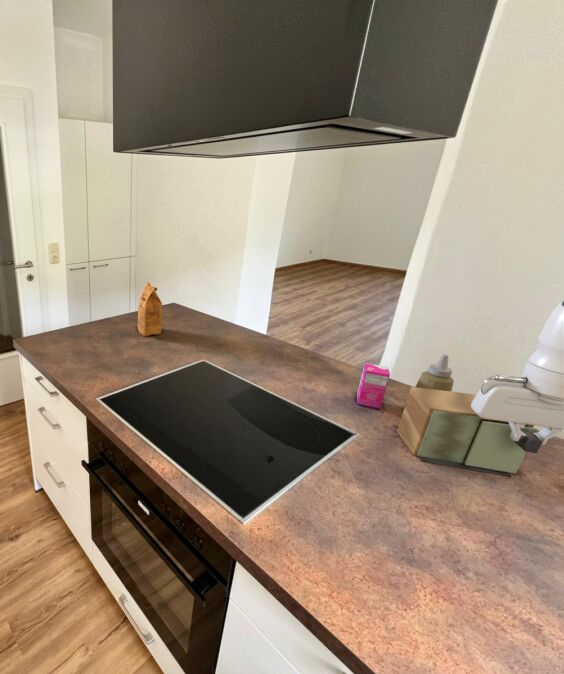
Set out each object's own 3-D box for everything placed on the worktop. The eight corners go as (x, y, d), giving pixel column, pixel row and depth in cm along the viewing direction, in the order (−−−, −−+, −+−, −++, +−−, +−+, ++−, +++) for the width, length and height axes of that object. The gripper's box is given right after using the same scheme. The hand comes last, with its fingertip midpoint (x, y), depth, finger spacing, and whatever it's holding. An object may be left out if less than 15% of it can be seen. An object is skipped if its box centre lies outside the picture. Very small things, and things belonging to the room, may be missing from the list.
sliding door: (514, 471, 78) (535, 428, 74) (529, 486, 74) (553, 441, 69) (463, 463, 80) (482, 420, 76) (475, 477, 76) (495, 433, 72)
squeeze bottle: (398, 409, 102) (417, 351, 95) (419, 404, 104) (439, 347, 98) (429, 425, 95) (452, 363, 88) (450, 419, 97) (474, 359, 90)
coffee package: (155, 326, 169) (157, 280, 161) (163, 336, 158) (165, 287, 150) (135, 328, 168) (135, 281, 160) (141, 337, 156) (142, 288, 148)
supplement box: (355, 396, 109) (364, 362, 105) (379, 401, 106) (389, 366, 102) (356, 405, 104) (365, 369, 100) (380, 410, 101) (391, 374, 97)
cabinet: (483, 444, 87) (504, 398, 83) (516, 477, 77) (542, 427, 72) (396, 430, 93) (411, 386, 88) (416, 460, 82) (434, 412, 78)
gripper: (497, 381, 68) (471, 441, 73) (646, 397, 62) (607, 461, 67) (477, 366, 73) (455, 423, 79) (613, 380, 67) (579, 441, 72)
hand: (526, 441), depth 73 cm, fingers closed on sliding door, 2 cm apart
